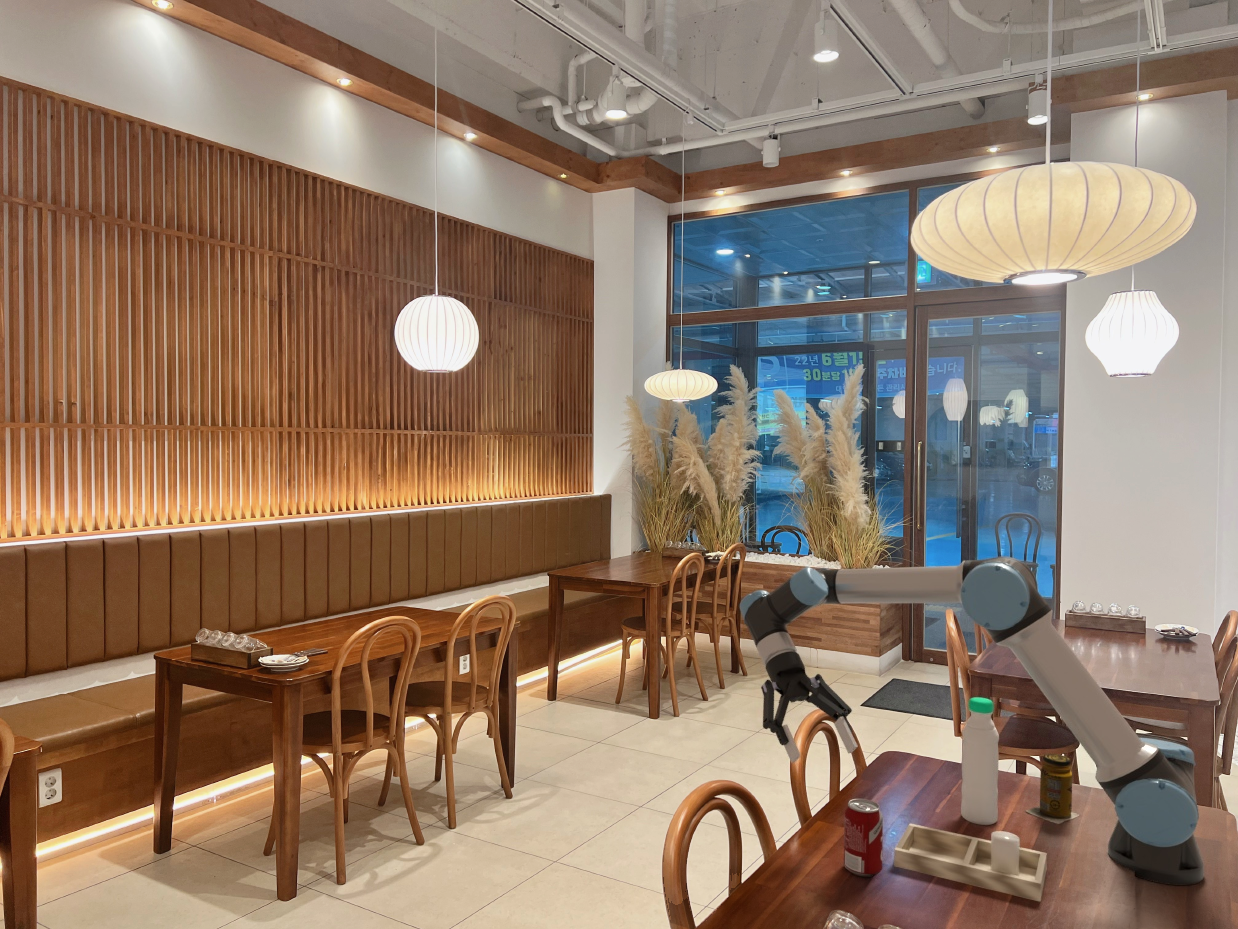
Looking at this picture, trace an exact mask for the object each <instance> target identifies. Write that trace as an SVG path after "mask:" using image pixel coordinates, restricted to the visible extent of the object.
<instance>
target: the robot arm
mask: <svg viewBox="0 0 1238 929" xmlns="http://www.w3.org/2000/svg"><path fill="white" fill-rule="evenodd" d="M1038 588H1039V587H1038V581H1037V577H1036V576H1035V573H1034V571H1033V570H1032V569H1031V568H1030V567H1029V566H1028V564H1026V563H1025V562H1023V561H1021V560H1019V559H1017V558H1015V557H1011V556H996V557H989V558H985V559H974V560H971V559H970V560H969V559H968V560H962V562H961V563H960V564H959V565H947V566H946V565H944V566H942V565H941V566H911V567H910V566H908V567H907V566H904V567H877V568H874V567H872V568H844V569H843V568H842V569H829V568H827V567H826V568H825V567H823V568H812V567H810V566H806V567H804V568H802V569H800V570H798V571H797V572H794V573H793V574H792V576H791V577H789V578H788V579H787V580H785V581H784V582H783V583H781V584H780V585H779V586H777V587H776V588H775V589H774V590H773V591H770V592H768V591H767V590H761V589H759V590H755V591H753V592H752V593H748V594H747V595H745V596H744V597H743V598H742V599H741V601H740V603H739V610H740V611H739V612H740V613H741V616H742V619H743V623H744V624H745V626H746V628H747V630H748V632H749V634H750V636H751V638H752V640H753V642H754V645H755V647H756V650H757V652H758V654H759V657H760V659H761V661H762V663H763V665H764V666H765V670H766V673H767V675H768V678H769V679H766V680H765V681H764V683H763V684H762V685H761V687H760V688H761V691H762V696H763V707H762V708H763V710H762V727H763V729H765V730H768V729H769V731H770V732H771V733H773V734H775V735H776V737H777V740H778V743H779V744H780V745H781V746H784V749H785V751H786V754H787V757H788V759H789V761H790V762H791V764H792V763H796V762H797V760H798V759H800V757H802V755H801V753H800V751H799V750H800V749H799V748H798V746H797V744H796V741H795V739H794V737H793V734H792V732H791V730H790V728H789V725H788V724H784V721H785V717H786V715H787V714H786V713H787V711H788V706H789V703H795V702H807V703H808V704H812V705H814V706H815V707H817V708H818V709H819V710H821V711H822V712H823V713H825V714H826V715H827V716H829V717H830V718H831V719H833V720H834V721H835V722H834V723H833V725H834V726H835V728H836V729H835V730H836V731H837V733H838V735H839V737H840V739H841V741H842V743H843V745H844V747H845V750H846V752H847V753H848V754H852V753H853V752H854V751H855V750H856V749H857V748H858V746H859V745H858V743H857V742H856V739H855V737H854V736H853V728H852V726H851V725H850V722H849V720H848V718H847V717H848V716H850V714H851V713H852V712H853V710H852V708H851V706H849V705H848V704H847V703H846V702H845V701H844V700H843V699H842V698H841V697H840V696H839V695H838V694H837V693H836V692H835V691H834V690H833V689H832V687H831V686H829V685H828V684H827V683H826V681H825V680H824V678H823V676H822V675H821V674H820V673H817V674H816V675H815V676H813V677H809V676H808V675H807V673H806V667H805V665H804V662H803V661H802V658H801V656H800V654H799V653H798V652H797V651H798V649H797V647H796V646H795V644H794V641H793V639H792V638H791V635H790V633H789V631H788V629H787V626H788V625H789V624H791V623H792V622H793V621H795V620H796V619H798V618H799V617H800V616H802V615H804V614H805V613H806V612H807V611H809V610H812V609H814V608H817V607H818V606H821V605H838V604H839V605H841V604H961V606H962V608H963V610H964V612H965V613H966V615H967V616H968V617H969V618H970V620H971V621H973V623H975V624H977V625H978V626H980V627H982V628H984V630H985V631H986V632H987V634H989V636H990V637H991V639H992V641H994V643H995V644H996V645H997V646H1001V647H1004V648H1005V647H1006V648H1008V649H1010V651H1011V652H1012V653H1013V654H1014V656H1015V658H1016V659H1017V660H1018V662H1020V664H1021V665H1022V667H1023V668H1024V669H1025V670H1026V673H1027V674H1028V675H1029V676H1030V677H1031V679H1032V680H1033V681H1034V683H1035V684H1036V686H1037V687H1038V688H1039V690H1040V691H1041V692H1042V694H1043V695H1044V696H1045V698H1046V699H1047V701H1048V702H1049V703H1050V704H1051V706H1052V707H1053V708H1054V710H1055V711H1056V713H1057V714H1058V715H1059V716H1060V718H1061V720H1062V721H1063V722H1064V724H1066V726H1067V728H1068V729H1069V730H1070V732H1071V733H1072V734H1073V736H1074V737H1075V738H1076V740H1077V741H1078V742H1079V744H1080V745H1081V747H1082V748H1083V749H1084V751H1085V752H1086V753H1087V755H1088V756H1089V757H1090V759H1091V760H1092V761H1093V762H1094V764H1095V765H1096V771H1095V775H1094V776H1095V780H1096V782H1097V783H1098V784H1099V786H1100V787H1101V789H1102V790H1103V791H1104V792H1105V794H1106V796H1108V798H1109V800H1110V801H1111V802H1112V803H1113V805H1114V810H1115V813H1116V817H1117V818H1118V819H1117V821H1116V823H1115V826H1114V828H1113V831H1112V833H1111V836H1110V838H1109V841H1108V844H1107V854H1108V856H1109V857H1110V858H1111V859H1112V860H1113V861H1114V862H1116V863H1117V864H1119V865H1120V866H1122V867H1123V868H1126V869H1128V870H1130V871H1132V872H1134V876H1135V877H1137V878H1141V879H1143V880H1146V881H1151V882H1154V883H1160V884H1165V885H1172V886H1173V885H1174V886H1189V885H1194V884H1198V883H1200V882H1202V881H1203V879H1204V871H1205V865H1204V860H1203V858H1202V855H1201V852H1200V848H1199V845H1198V842H1197V840H1196V836H1195V834H1194V832H1195V831H1196V828H1197V825H1198V821H1199V819H1200V813H1199V806H1198V803H1197V796H1196V791H1195V790H1196V789H1195V767H1196V764H1197V763H1196V761H1195V753H1194V752H1193V750H1192V749H1191V748H1189V747H1188V746H1185V745H1183V744H1179V743H1175V742H1171V741H1166V740H1162V739H1155V738H1149V737H1139V736H1138V734H1137V732H1135V731H1134V729H1133V728H1132V727H1131V726H1130V724H1129V723H1128V721H1127V720H1126V718H1124V717H1123V715H1122V714H1121V712H1120V711H1119V710H1118V708H1117V707H1116V706H1115V705H1114V703H1113V702H1112V701H1111V699H1110V698H1109V697H1108V695H1107V694H1106V693H1105V691H1104V690H1103V689H1102V688H1101V686H1100V685H1099V684H1098V682H1097V680H1095V678H1094V677H1093V676H1092V674H1091V673H1090V672H1089V671H1088V669H1087V668H1086V667H1085V665H1084V663H1082V661H1081V660H1080V659H1079V658H1078V656H1077V655H1076V653H1075V652H1074V651H1073V650H1072V648H1071V647H1070V645H1068V643H1067V642H1066V641H1065V639H1064V638H1063V637H1062V635H1061V634H1060V632H1059V631H1058V630H1057V629H1056V627H1055V626H1054V625H1053V623H1052V618H1053V612H1054V611H1053V609H1052V608H1051V607H1050V605H1049V604H1048V603H1047V601H1046V600H1045V599H1044V597H1043V596H1042V595H1041V593H1039V590H1038ZM775 692H777V693H778V694H780V697H779V700H778V706H777V708H776V713H775ZM810 693H811V694H810Z"/></svg>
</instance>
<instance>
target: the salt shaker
mask: <svg viewBox="0 0 1238 929" xmlns="http://www.w3.org/2000/svg"><path fill="white" fill-rule="evenodd" d="M990 836H991V837H990V838H991V840H990V841H991V870H995V871H999V872H1004V873H1008V874H1012V875H1017V876H1019V847H1020V837H1019V836H1018V835H1016V834H1014V833H1012V832H1008V831H1002V830H1001V831H1000V830H996V831H993V832H991V833H990Z"/></svg>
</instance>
